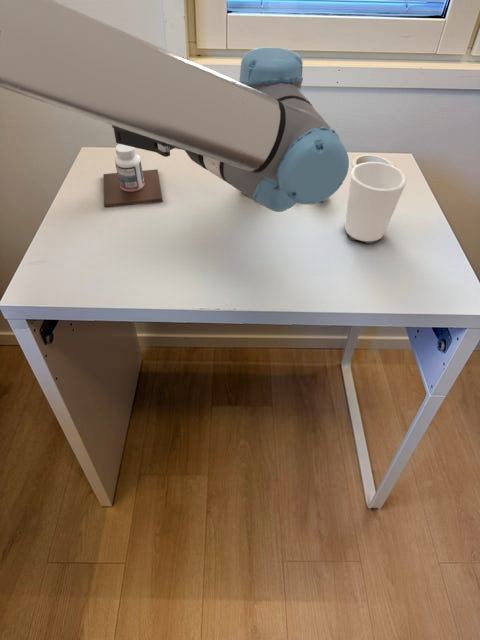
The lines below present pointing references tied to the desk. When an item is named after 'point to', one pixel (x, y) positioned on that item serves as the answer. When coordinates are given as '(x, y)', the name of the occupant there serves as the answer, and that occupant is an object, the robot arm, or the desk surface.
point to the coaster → (144, 195)
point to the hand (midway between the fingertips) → (141, 102)
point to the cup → (372, 199)
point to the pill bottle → (129, 168)
